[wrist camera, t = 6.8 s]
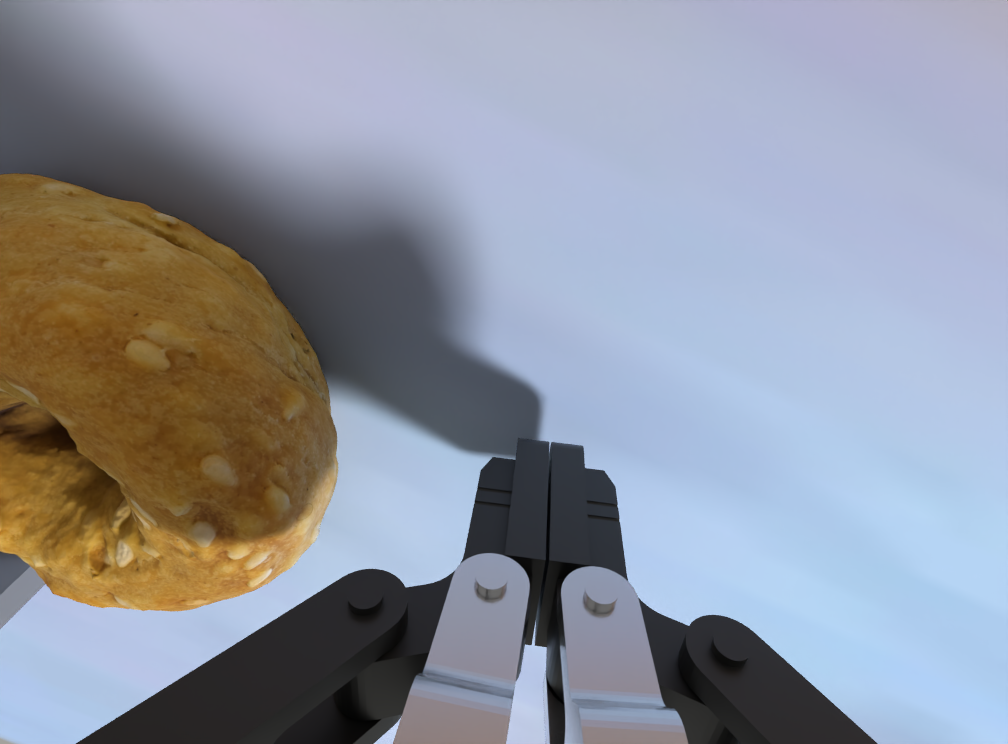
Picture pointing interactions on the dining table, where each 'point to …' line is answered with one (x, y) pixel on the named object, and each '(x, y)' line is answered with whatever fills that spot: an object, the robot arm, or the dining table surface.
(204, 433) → the bagel
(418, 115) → the dining table surface
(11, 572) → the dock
